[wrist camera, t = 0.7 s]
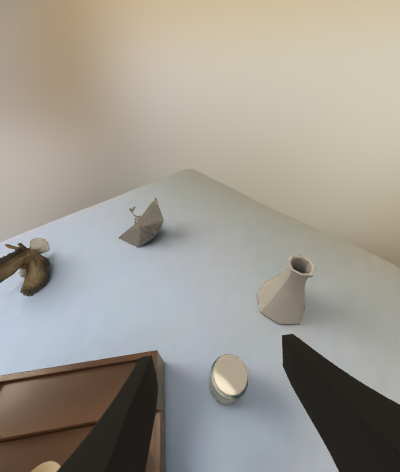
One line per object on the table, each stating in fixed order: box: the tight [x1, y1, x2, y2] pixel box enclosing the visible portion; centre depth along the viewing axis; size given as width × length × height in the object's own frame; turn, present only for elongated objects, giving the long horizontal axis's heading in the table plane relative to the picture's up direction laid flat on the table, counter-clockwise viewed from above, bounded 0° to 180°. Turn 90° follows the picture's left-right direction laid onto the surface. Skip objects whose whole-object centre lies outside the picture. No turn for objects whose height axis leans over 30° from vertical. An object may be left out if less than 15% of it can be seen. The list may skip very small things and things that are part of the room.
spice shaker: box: [210, 354, 248, 405], centre depth 21 cm, size 4×4×6 cm
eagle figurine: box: [0, 238, 50, 296], centre depth 34 cm, size 8×7×9 cm
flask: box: [257, 255, 316, 324], centre depth 27 cm, size 7×7×10 cm
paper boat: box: [119, 198, 163, 247], centre depth 41 cm, size 12×6×9 cm
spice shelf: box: [0, 350, 165, 472], centre depth 18 cm, size 13×17×5 cm
